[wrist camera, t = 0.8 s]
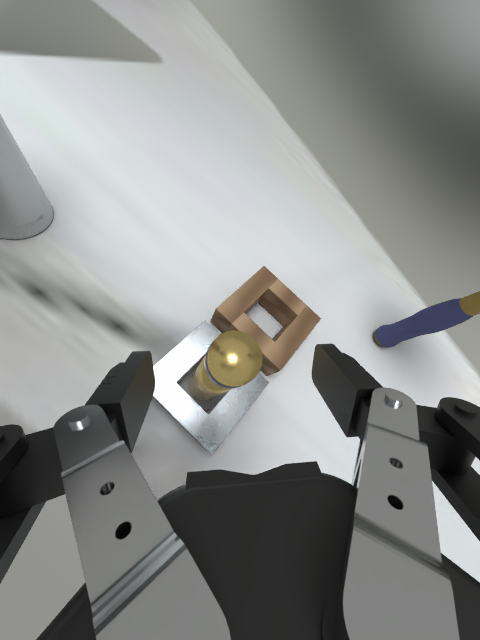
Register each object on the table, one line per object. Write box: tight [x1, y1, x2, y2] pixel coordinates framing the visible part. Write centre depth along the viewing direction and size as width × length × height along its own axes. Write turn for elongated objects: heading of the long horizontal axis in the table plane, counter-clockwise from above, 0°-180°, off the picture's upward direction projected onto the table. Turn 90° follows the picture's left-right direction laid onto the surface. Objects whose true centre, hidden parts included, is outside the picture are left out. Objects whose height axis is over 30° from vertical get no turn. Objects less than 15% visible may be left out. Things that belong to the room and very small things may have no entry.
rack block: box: [210, 266, 321, 376], centre depth 37 cm, size 12×11×5 cm
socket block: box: [153, 321, 269, 455], centre depth 32 cm, size 12×11×4 cm
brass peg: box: [189, 330, 262, 400], centre depth 25 cm, size 4×4×18 cm
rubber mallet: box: [374, 291, 480, 347], centre depth 31 cm, size 12×8×30 cm, turn 33°
